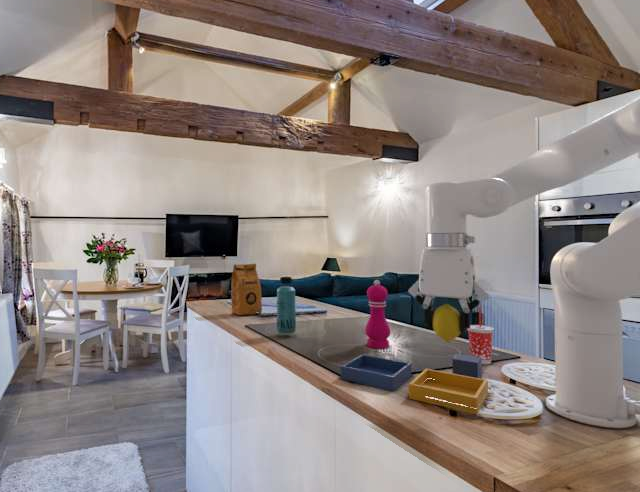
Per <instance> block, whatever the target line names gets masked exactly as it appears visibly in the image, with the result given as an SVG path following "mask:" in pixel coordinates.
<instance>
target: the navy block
mask: <svg viewBox="0 0 640 492" xmlns="http://www.w3.org/2000/svg"><path fill="white" fill-rule="evenodd" d="M482 365H483V364H482V360H481V357H475V356H470V355H468V354H462V353H461V354H460V353H457V354H456V355H455V356H454V357H453V358H452V374H458V375H463V376H468V377H474V378H479V379H483V371H482V368H483V367H482Z"/></svg>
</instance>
